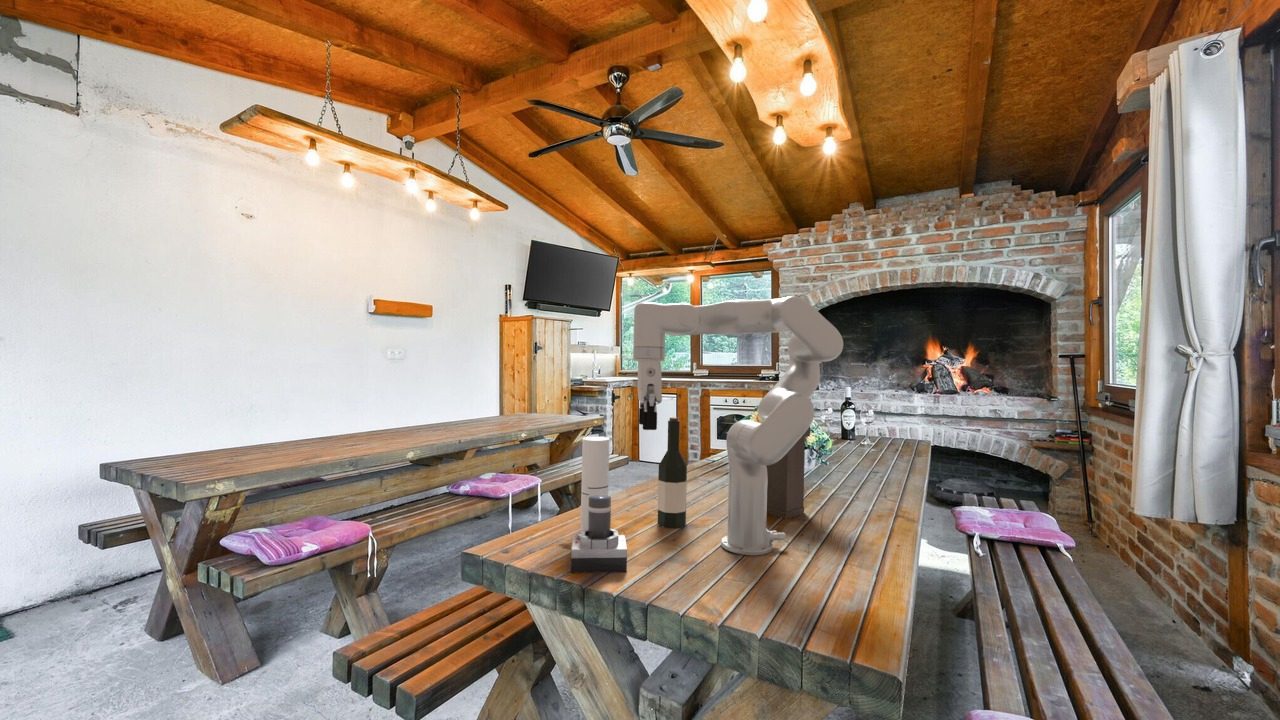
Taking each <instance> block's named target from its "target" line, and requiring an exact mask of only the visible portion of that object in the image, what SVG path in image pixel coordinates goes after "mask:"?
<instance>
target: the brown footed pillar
mask: <svg viewBox="0 0 1280 720" xmlns="http://www.w3.org/2000/svg"><path fill="white" fill-rule="evenodd" d="M809 399H810V400H811V398H809ZM811 401H812V400H811ZM806 437H807V438H808V437H811V426H810V427H809V428H808V430H807V431H806V432H805V433H804V434H803V435H802V437H801V438H800V439H799V440H798V441H797V442H796V443H795V444H794V446H793V447H792V448H791V449H790V450H789V451H788V452H787V453H786V454H785V455H784V457H782V458H781V459H780V460H779V461H778V462H776V463H774V464H772V465H766V467H767V477H768V484H767V515H768V514H770V515H769V516H772V515H774V516H773V517H776V516H778V517H777V518H780V517H782V518H781V519H784V518H786V519H785V520H788V518H789V519H791V518H793V516H794V517H796V516H795V515H797V516H799V515H801V514H800V513H802V514H804V513H805V506H804V502H805V500H804V499H805V498H804V495H805V494H804V493H805V459H806V458H805V455H806V454H805V453H806V452H805V450H806V446H805V445H806ZM803 512H804V513H803ZM798 514H799V515H798ZM790 517H791V518H790Z"/></svg>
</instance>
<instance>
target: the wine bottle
mask: <svg viewBox="0 0 1280 720" xmlns="http://www.w3.org/2000/svg"><path fill="white" fill-rule="evenodd" d="M687 477H688V464H687V461H686V460H685V458H684V456H683V454H682V452H681V451H680V420H679V417H675V416H673V417H669V419H668V421H667V451H666V452H665V453H664V456H663V457H662V459H661V460H660V462H659V464H658V477H657V479H658V483H657V485H658V487H657V489H658V491H657V525H658V524H659V525H658V526H660V525H661V526H660V527H662V526H663V528H665V527H666V528H667V529H678V528H684V527H686V524H687V522H686V521H687V491H688V489H687V487H688V486H687V484H688V483H687V481H688V478H687ZM666 528H665V529H666Z"/></svg>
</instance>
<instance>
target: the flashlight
mask: <svg viewBox="0 0 1280 720" xmlns="http://www.w3.org/2000/svg"><path fill="white" fill-rule="evenodd" d="M611 512H612V497H611V496H609V495H608V496H607V495H593V496H590V497H589V505H588V537H591V538H608V537H610V528H611V525H612V524H611V522H612V520H611V519H612V518H611V517H612V516H611V515H612V514H611ZM611 529H612V528H611Z"/></svg>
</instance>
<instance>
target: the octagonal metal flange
mask: <svg viewBox="0 0 1280 720" xmlns="http://www.w3.org/2000/svg"><path fill="white" fill-rule="evenodd" d="M570 554H571V558H570V560H571V565H570V573H571V572H603V573H627V572H628V569H627V565H628V547H627V541H626V535H623V534H622V535H619V531H618V530H617V529H613V528H610V537H608V538H591V537H588V529H585V530H582V531H581V530H580V533H576V534H575V535H572V543H571V553H570Z"/></svg>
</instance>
